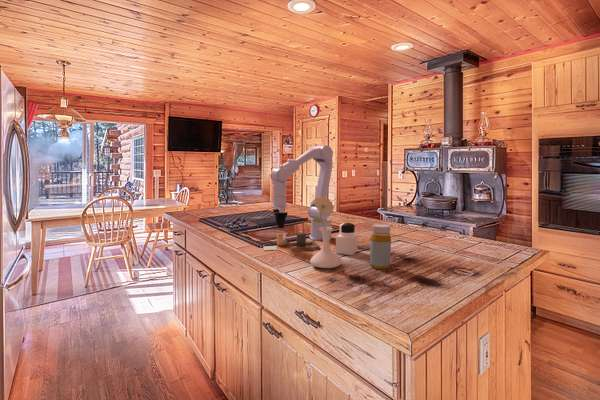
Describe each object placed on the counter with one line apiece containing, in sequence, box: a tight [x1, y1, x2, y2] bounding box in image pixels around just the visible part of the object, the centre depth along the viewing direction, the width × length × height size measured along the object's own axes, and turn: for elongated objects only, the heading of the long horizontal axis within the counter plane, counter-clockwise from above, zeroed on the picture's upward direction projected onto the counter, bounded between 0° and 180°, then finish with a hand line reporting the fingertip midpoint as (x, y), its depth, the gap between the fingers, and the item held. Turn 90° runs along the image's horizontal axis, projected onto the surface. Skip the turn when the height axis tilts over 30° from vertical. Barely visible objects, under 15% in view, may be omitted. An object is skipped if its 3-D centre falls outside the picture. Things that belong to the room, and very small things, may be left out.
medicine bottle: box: [335, 222, 359, 256], centre depth 139 cm, size 7×7×12 cm
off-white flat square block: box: [262, 245, 278, 252], centre depth 145 cm, size 6×6×1 cm
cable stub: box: [296, 232, 307, 247], centre depth 147 cm, size 4×4×6 cm
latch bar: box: [276, 232, 288, 247], centre depth 155 cm, size 4×10×5 cm, turn 10°
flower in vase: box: [309, 196, 343, 269], centre depth 121 cm, size 13×11×25 cm
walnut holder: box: [287, 240, 321, 252], centre depth 148 cm, size 12×10×1 cm
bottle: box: [369, 223, 392, 271], centre depth 120 cm, size 7×7×15 cm
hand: (280, 226), depth 150 cm, fingers open, 7 cm apart
